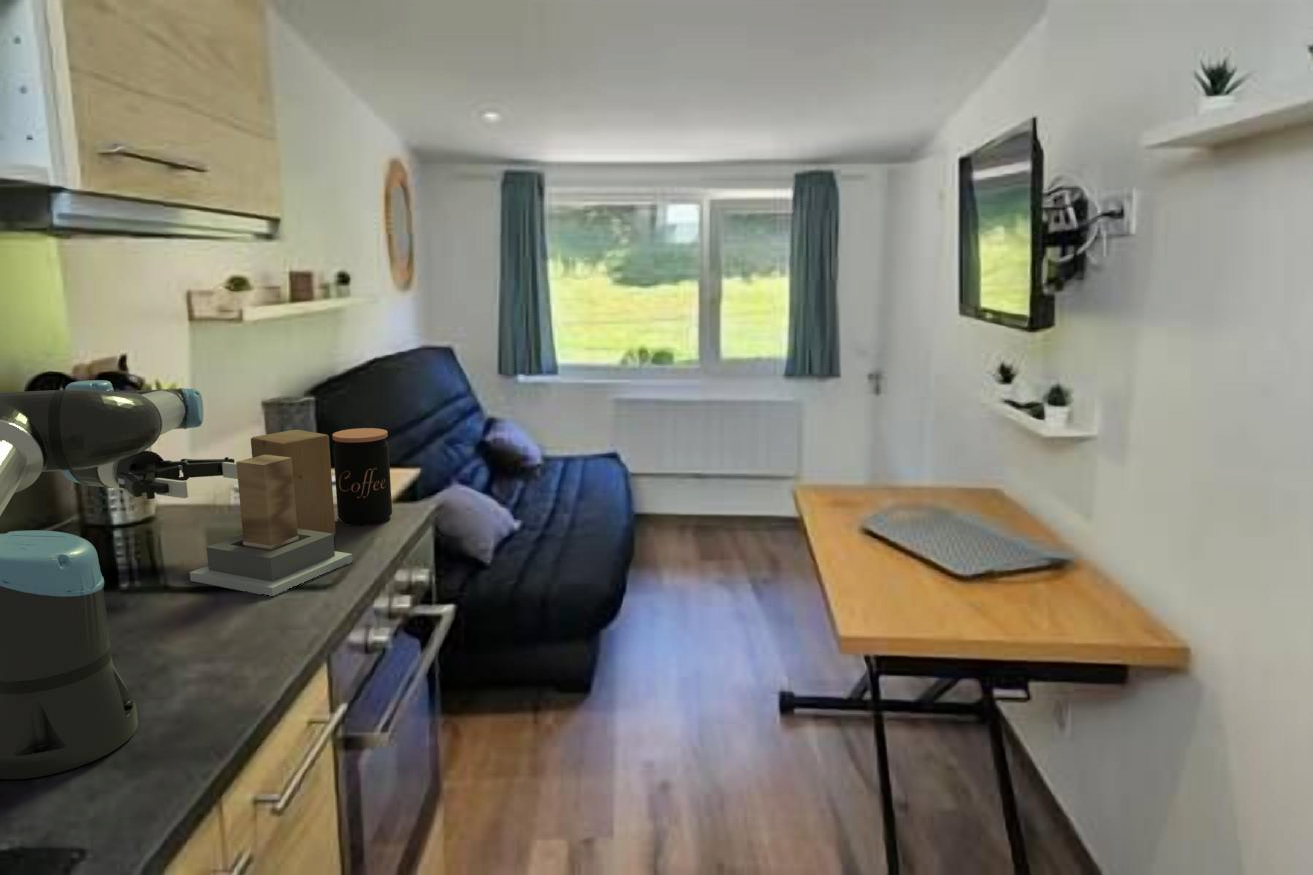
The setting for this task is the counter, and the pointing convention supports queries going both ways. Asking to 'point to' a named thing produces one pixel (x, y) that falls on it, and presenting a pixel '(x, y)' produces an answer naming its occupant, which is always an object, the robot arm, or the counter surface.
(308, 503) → the wooden block
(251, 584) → the socket board
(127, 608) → the counter surface
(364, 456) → the coffee jar
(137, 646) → the counter surface
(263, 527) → the walnut peg
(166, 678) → the counter surface
